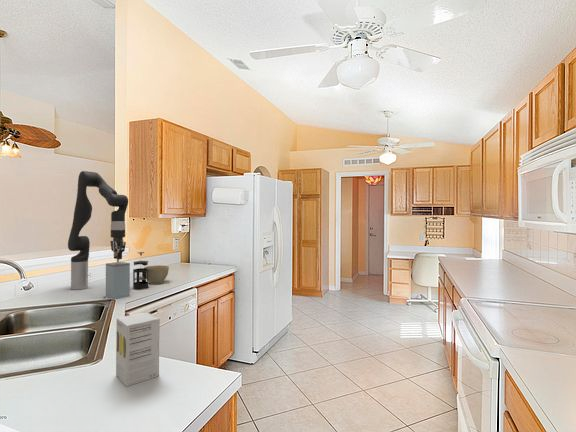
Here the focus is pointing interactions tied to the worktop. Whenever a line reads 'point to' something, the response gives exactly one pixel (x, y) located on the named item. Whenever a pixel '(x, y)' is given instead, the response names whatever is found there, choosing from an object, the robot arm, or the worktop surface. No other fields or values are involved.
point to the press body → (117, 280)
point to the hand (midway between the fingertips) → (117, 258)
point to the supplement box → (137, 348)
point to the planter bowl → (157, 274)
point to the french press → (143, 283)
